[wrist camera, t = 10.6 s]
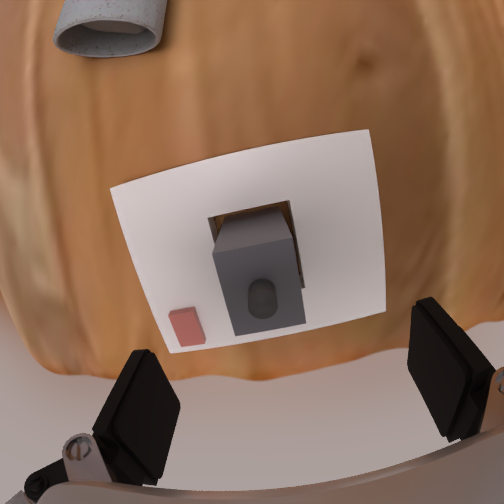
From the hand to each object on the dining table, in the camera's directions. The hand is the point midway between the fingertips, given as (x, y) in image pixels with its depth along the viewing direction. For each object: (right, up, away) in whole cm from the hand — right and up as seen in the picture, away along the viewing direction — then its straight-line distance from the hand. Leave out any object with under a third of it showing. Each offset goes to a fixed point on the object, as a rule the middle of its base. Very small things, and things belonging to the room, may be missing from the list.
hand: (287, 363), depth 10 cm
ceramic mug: (-12, +22, +7) cm, 26 cm away
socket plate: (-1, +5, +13) cm, 14 cm away
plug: (-1, +5, +13) cm, 14 cm away
